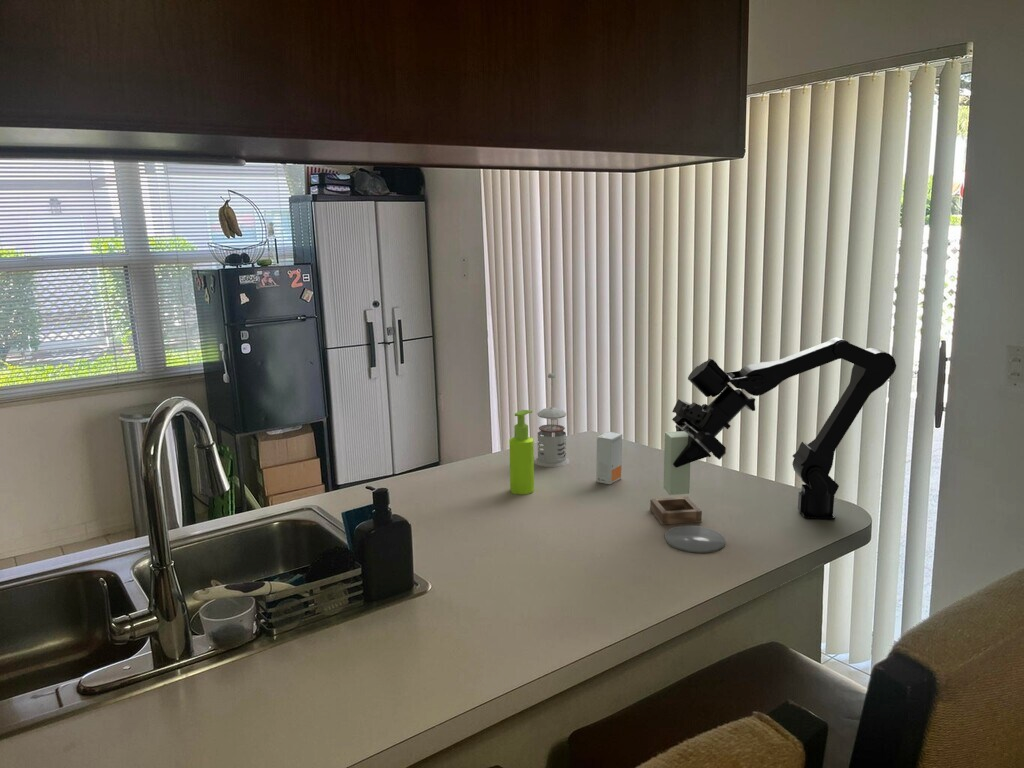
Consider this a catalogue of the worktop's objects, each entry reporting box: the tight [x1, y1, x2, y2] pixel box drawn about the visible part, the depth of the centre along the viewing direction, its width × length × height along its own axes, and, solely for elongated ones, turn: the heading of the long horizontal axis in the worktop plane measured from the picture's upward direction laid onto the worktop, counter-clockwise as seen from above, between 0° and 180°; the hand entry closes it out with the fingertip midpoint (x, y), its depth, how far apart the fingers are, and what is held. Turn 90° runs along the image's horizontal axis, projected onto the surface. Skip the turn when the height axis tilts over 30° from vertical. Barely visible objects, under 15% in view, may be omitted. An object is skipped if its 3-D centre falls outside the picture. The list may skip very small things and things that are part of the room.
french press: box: [534, 372, 571, 468], centre depth 200 cm, size 10×12×25 cm
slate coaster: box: [664, 525, 726, 554], centre depth 149 cm, size 12×12×1 cm
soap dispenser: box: [508, 409, 535, 496], centre depth 178 cm, size 6×7×20 cm
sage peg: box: [663, 431, 691, 496], centre depth 159 cm, size 4×4×13 cm
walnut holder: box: [649, 496, 703, 525], centre depth 162 cm, size 9×9×2 cm
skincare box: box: [595, 431, 623, 485], centre depth 184 cm, size 6×4×12 cm
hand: (670, 462), depth 159 cm, fingers closed on sage peg, 4 cm apart
